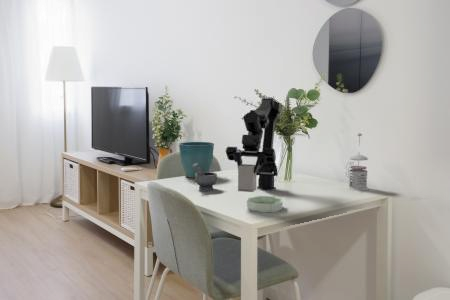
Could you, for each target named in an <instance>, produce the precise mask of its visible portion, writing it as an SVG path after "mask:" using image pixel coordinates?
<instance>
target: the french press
mask: <svg viewBox="0 0 450 300" xmlns="http://www.w3.org/2000/svg"><path fill="white" fill-rule="evenodd" d="M362 136H363V134H362V133H360V132H359V133H357V137H359V138H358V145H360V141H361V137H362ZM349 160H352V162H351V161H349V162H348V163H347V164H346V167H345V168H347V173H345V175H346V177H347V178H348V186H347V187H345V188H346V190H347V189H348V190H352V191H357V192H359V191H360V192H361V191H363V192H364V191H369V188H368V183H367V182H368V180H367V179H368V170H366V169H367V167H366V166H364V165H363V166H361V165H359V164H360V163H359V162H360V161H368V160H369V158H368V157H367V156H365V155H363V154H360V153H358V154H354V155H352V156H349ZM353 161H357V162H358V164H357V165H354V162H353ZM348 165H349V166H348ZM347 166H348V167H347Z"/></svg>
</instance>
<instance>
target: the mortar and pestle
mask: <svg viewBox="0 0 450 300" xmlns="http://www.w3.org/2000/svg"><path fill="white" fill-rule="evenodd" d="M193 168H194V169H195V171H196V174H195V178H194V179H195V182H196V184H197V185H198V186H199V187H198V189H199V191H203V192H204V191H207V192H208V191H212V190H214V188H213V186H214V185H215V184H216V182H217V178H218V174H217V173H216V172H212V171H209V172H202V170H201V169H200V167H199V165H198V163H196V164H194V165H193Z"/></svg>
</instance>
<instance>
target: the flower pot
mask: <svg viewBox="0 0 450 300" xmlns="http://www.w3.org/2000/svg"><path fill="white" fill-rule="evenodd" d="M178 146H179V147H178V149H179V156H180V158H179V159H180V162H181V165H182V167H183V168H182V169H183V171H184V176H185V177H187V178H190V179H191V178H193V179H195V174H196V171H195V169H194V168H193V165H194V164H196V163H198V165H199V167H200V169H201V170H202V172H210V169H211V166H212V162H213V158H214V148H215V147H214V146H215V143H214V142H209V141H185V142H183V141H182V142H179V143H178Z"/></svg>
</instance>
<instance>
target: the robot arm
mask: <svg viewBox="0 0 450 300" xmlns="http://www.w3.org/2000/svg"><path fill="white" fill-rule="evenodd" d="M281 113H282V106H281V104H280V102H279V101H276V100H275V99H274V98H272V97H270V98H269V97H264V98H262V99H261V103H260V104H259V106H258V108H257V110H255V109H251V110H249V112H247V113H245V114H244V116H242V117H243V123H244V125H245V129H246V131H247V134H242V137H241V144H242V149H243V150H241V149H239V148H238V146H227V147H226V149H225V153H226V156H227V160H229V161H234V162H235V163H236V165H237V167H238V166H239V165H241V164H243V157H247V158H256V162H255V164H254V165H255V168H254V174H255V173H256V176H258V183H257V184H258V185H257V186H256V189H259V190H263V191H271V190H276V189H277V187H275V177H277V176H278V166H277V163H276V160H277V159H276V158H277V156H276V151H275V149H274V148H273V147H274V139H275V138H274V137H275V128H276V123H277V122H278V120H279V119H280V115H281ZM263 129H264V131H263ZM262 138H263V141H262ZM261 143H262V148H261ZM260 149H262V151H260Z"/></svg>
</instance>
